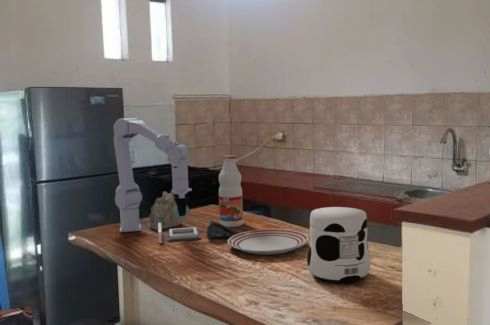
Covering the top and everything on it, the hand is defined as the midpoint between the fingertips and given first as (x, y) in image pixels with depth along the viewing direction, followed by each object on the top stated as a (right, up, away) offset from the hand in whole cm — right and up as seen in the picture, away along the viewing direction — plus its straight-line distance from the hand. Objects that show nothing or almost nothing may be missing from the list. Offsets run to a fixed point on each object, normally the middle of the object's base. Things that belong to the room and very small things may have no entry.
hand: (181, 214), depth 182 cm
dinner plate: (+31, -10, -15) cm, 36 cm away
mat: (0, -8, +1) cm, 8 cm away
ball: (0, +1, 0) cm, 1 cm away
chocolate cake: (+15, -9, -3) cm, 18 cm away
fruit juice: (+18, -6, +16) cm, 25 cm away
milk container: (+49, -13, -45) cm, 68 cm away
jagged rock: (-11, -7, +22) cm, 25 cm away
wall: (-8, -9, 0) cm, 12 cm away
